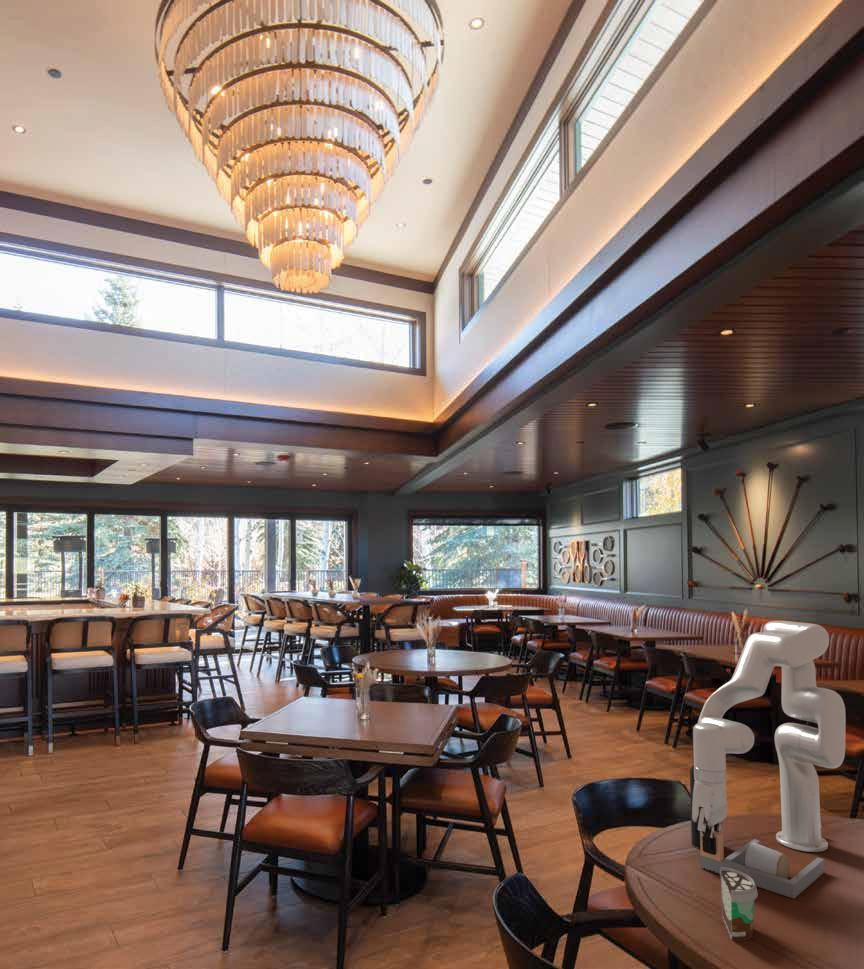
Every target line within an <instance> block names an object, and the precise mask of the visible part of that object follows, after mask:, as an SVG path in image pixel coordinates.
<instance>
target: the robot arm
mask: <svg viewBox="0 0 864 969" xmlns="http://www.w3.org/2000/svg"><path fill="white" fill-rule="evenodd" d="M829 644H830V635H829V633H828V631H827V630H826V629H825V627H823V626H821V625H820V624H817V623H808V622H801V621H798V622H797V621H792V620H791V621H789V620H771V621H768V622H767V623H765V624H764V627H763V631H762V632H760V631H759V632H753V633H752V634H749V636H748V637H747V639H746V641H745V644H744V646H743V649H742V651H741V654H740V657H739V659H738V662H737V664H736V667H735V669H734V672H733V674H732V677H731V678H730V680H729V681H727V682H726V683H724V684H723V685H722V686H720V687H719V688H717V689H716V690H715V691H714V692H713V693H711V695H710V696H709V697H708V698H707V700H706V701H705V702H704V704H703V707H702V710H701V712H700V715H699V717H698V720H697V723H696V724H694V726H693V729H692V742H693V743H692V744H693V745H692V746H693V765H694V780H695V783H694V790H693V807H692V819H693V821H694V822H698V821H699V822H698V830H699V831H701V834H702V843H703V851H704V852H706V853H709V854H712V855H715V854H716V838H714V831H716V832H719V833H722V825H723V822H724V820H725V819H726V818H727V815H728V814H727V813H728V802H727V801H728V800H727V791H726V790H727V789H726V784H727V764H726V763H727V758H726V755H727V754H736V755H737V754H740V755H741V754H745V753H747V752H749V751H750V750H751V749H752V748H753V746H754V744H755V735H754V732H753V731H752V729H751V727H749V726H747V725H745V723H741V722H737V721H732V720H729V719H726V718H723V717H724V715H725V713H726V712H727V711H728V710H729V709H730V708H732V707H733V706H735V705H737V704H739V703H742V702H746V701H750V700H752V699H756V698H759V697H760V698H761V697H762V696H763V695H765V693H766V690H767V688H768V684H769V682H770V678H771V677H772V673H773V672H774V668H775V667H781V708H782V711H783V712H784V714H785V715H787V716H788V717H791V718H793V719H796V720H801V721H807V722H810V723H815V724H817V726H818V727H813V726H810V725H806V724H802V723H801V724H800V723H795V722H785V723H783V724H780V725H779V726H778V727H777V728H776V729H775V732H774V745H775V750H776V753H777V758H778V759H777V760H778V765H779V766H778V767H779V778H780V780H779V783H780V784H779V787H780V788H779V789H780V807H781V809H780V811H781V812H780V813H781V830H780V831H777V833H776V834H775V839H776V841H777V842H778V843H779V844H781V845H783V846H785V847H787V848H789V849H793V850H797V851H801V852H807V853H808V852H809V853H810V852H811V853H819V852H825V851H826V850H828V848H829V843H828V841H827V840H826V839H825V838H823V837H822V829H821V828H822V823H821V807H820V805H821V804H820V781H819V774H818V773H817V770H816V768H815V766H818V767H822V768H826V769H837V768H839V767H841V766H842V764H843V762H844V760H845V754H846V728H847V727H846V706H845V703H844V700H843V698H842V696H841V695H840V694H839V693H837V691H835V690H832V689H830V688H825V687H819V686H817V678H816V677H817V676H816V674H817V672H816V670H817V669H816V665H815V662H814V661H813V660H815V659H818V658H819V657H821V656H823V655H824V654H825V652H827V650H828V647H829ZM814 765H815V766H814ZM706 821H707V822H708V823H707V822H706ZM705 826H707V827H709V828H707V827H705Z"/></svg>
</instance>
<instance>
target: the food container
mask: <svg viewBox="0 0 864 969" xmlns="http://www.w3.org/2000/svg"><path fill="white" fill-rule="evenodd" d="M719 876H720V888H721V891H720V892H721V894H720V895H721V912H722V913H721V914H722V915H721V916H722V920H723V919H724V920H723V922H724V924H726V925H725V928H726V929H728V930H727V931H728V934H730V935H729V937H730V939H732V940H731V941H737V940H738V941H745V940H744V939H746V940H749V939H751V938H752V937H753V933H754V912H755V910H754V909H755V900H756V899H757V898H758V895H759V894H758V889H757V888H758V887H757V886H756V885H755V883H754V881H753V879H752V878H751V877H749V876H748V875H746V874H744V873H742V872H740V871H737V870H734V869H730V868H724V867H720V874H719ZM748 938H749V939H748Z"/></svg>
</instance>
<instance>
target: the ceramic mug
mask: <svg viewBox="0 0 864 969" xmlns="http://www.w3.org/2000/svg"><path fill="white" fill-rule="evenodd" d="M744 866H747V867H750V868H753V869H757V870H760V871H763V872H766V873H769V874H773V875H776V876H779V877H782V878H785V879H788V878H789V875H790V874H789V873H790V862H789V858H788V856H786V854H784V853H782V852H781V851H778V850H776V849H772V848H769V847H767V846H764V845H762V844H761V843H760V844H757V843H755V842H753V843H751V844H750V845H749V847H748V849H747V852H746V856H745V864H744Z"/></svg>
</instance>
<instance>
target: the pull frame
mask: <svg viewBox="0 0 864 969" xmlns="http://www.w3.org/2000/svg"><path fill="white" fill-rule="evenodd" d="M714 838H716V854H715V855H712V854H709V853H706V852H704V851H703V843H702V834H701V831H700V849H699V850H700V868H701V867H702V868H701V869H704V868H705V869H704V870H707V871H710V870H711V871H710V872H713V871H714V872H713V873H716V874H719V875H720V867H724V868H730V869H734V870H737V871H740V872H742V873H744V874H746V875H748V876H749V877H751V878H752V879H753V881H754V883H755V885H756V888H761V889H763V890H767V891H769V892H773V893H776V894H779V895H782V896H784V897H788V898H791V899H793V900H794V899H796V898H797V897H798V896H799V895H800V894H801V893H803V892H804V891H805V890H806V889H807V888H809V886H811V884H813V883H814V882H815V881H816V880H817V879H818V878H820V877H821V876H822V875H823V874H824V873H825V859H824V858H821V857H816V858H815V859H814V860H812V861H811V862H810V863H809V864H807V866H805V867H804V868H803V869H802V870H800V871H799V872H798V873H797V874H795V875H794V876H793V877H792V878H791V879H788V878H787V879H785V878H782V877H779V876H776V875H773V874H769V873H766V872H763V871H760V870H757V869H753V868H750V867H747V866H745V856H746V852H747V849H748V847H749V845H750V844H751V843H753V842H755V843H757V844H760V845H761V841H760V840H758V839H756V838H753V839H752V840H750V841H749V842H747V843H746V844H745V845H743V846H742V847H740V848H739V849H736V850H735V851H733V852H732V853H731V854H729V855H728V856H727V857H725V856H724V855H725V851H724V848H725V847H724V833H723V832H721V833H719V832H716V831H714Z"/></svg>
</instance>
